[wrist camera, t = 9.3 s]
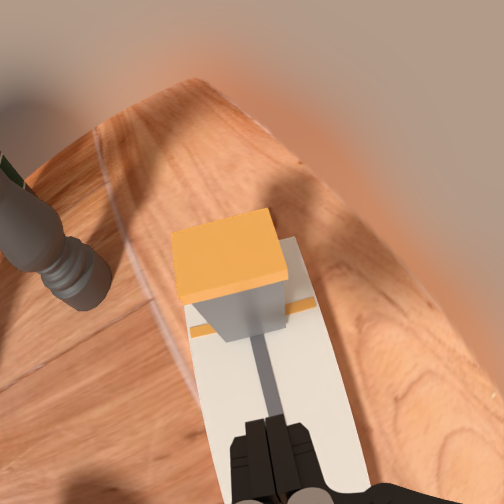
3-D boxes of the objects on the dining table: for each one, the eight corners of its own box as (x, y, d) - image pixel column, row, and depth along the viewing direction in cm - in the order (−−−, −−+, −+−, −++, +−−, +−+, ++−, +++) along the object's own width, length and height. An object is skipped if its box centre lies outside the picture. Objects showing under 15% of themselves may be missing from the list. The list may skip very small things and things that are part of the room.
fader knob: (289, 329, 21) (287, 269, 13) (223, 345, 21) (177, 297, 13) (277, 287, 23) (267, 207, 14) (215, 303, 23) (171, 233, 14)
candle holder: (68, 265, 30) (-77, 103, 8) (112, 252, 30) (-33, 55, 8) (65, 316, 27) (-119, 159, 5) (111, 305, 27) (-85, 105, 5)
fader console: (377, 543, 13) (385, 555, 11) (255, 572, 13) (251, 585, 11) (294, 250, 27) (294, 235, 25) (187, 278, 27) (178, 265, 25)
